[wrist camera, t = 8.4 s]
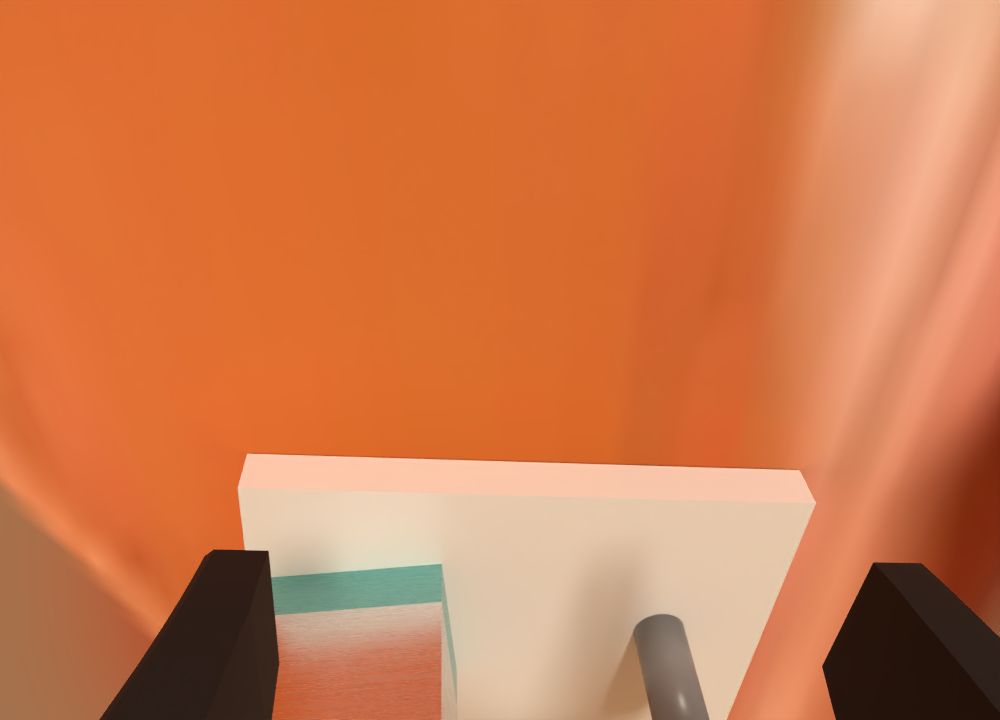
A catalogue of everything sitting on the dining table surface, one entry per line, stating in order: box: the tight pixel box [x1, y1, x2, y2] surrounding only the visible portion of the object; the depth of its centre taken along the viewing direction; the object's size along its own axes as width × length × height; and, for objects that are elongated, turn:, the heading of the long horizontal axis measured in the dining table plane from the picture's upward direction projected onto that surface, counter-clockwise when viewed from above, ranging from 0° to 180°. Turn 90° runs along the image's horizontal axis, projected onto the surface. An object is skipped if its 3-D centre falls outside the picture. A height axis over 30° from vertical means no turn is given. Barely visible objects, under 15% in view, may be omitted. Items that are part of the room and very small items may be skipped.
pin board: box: [238, 454, 816, 720], centre depth 23 cm, size 14×10×4 cm
